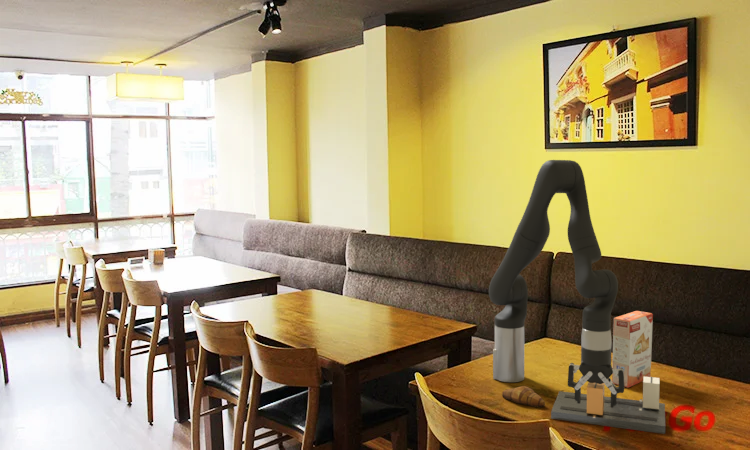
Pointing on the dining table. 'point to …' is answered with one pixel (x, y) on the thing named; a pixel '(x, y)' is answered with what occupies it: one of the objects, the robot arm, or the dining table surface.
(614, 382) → the cracker box
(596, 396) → the orange block
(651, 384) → the ivory fader
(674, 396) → the dining table surface
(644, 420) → the console
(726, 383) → the dining table surface
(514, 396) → the croissant
